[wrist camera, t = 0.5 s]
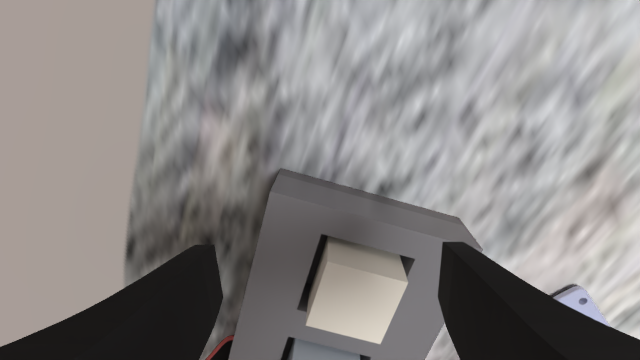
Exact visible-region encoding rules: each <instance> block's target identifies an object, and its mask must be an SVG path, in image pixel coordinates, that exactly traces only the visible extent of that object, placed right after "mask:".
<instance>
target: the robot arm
mask: <svg viewBox="0 0 640 360" xmlns="http://www.w3.org/2000/svg"><path fill="white" fill-rule="evenodd" d="M581 298H582V299H581ZM222 299H223V293H222V287H221V281H220V276H219V270H218V264H217V258H216V252H215V246H214V245H195V246H193V247H191V248H189V249H187V250H185V251H184V252H182V253H180V254H179V255H177V256H176V257H174V258H172V259H171V260H169V261H168V262H166V263H165V264H163V265H161V266H160V267H158V268H157V269H155V270H153V271H152V272H150V273H149V274H147V275H146V276H144V277H142V278H141V279H139V280H137V281H136V282H134V283H132V284H131V285H129V286H127V287H125V288H124V289H122V290H120V291H119V292H117V293H115V294H114V295H112V296H110V297H109V298H107V299H105V300H103V301H101V302H99V303H97V304H95V305H94V306H92V307H90V308H88V309H86V310H84V311H82V312H80V313H78V314H76V315H73V316H72V317H69V318H67V319H65V320H63V321H61V322H59V323H56V324H54V325H52V326H49V327H47V328H45V329H43V330H40V331H38V332H36V333H33V334H31V335H28V336H26V337H24V338H22V339H19V340H17V341H14V342H12V343H9V344H7V345H4V346H2V347H0V360H199V358H200V356H201V354H202V352H203V350H204V347H205V345H206V343H207V341H208V339H209V337H210V334H211V332H212V330H213V328H214V325H215V322H216V319H217V316H218V313H219V310H220V306H221V303H222ZM580 299H581V300H580ZM438 300H439V304H440V307H441V311H442V314H443V318H444V321H445V324H446V327H447V330H448V332H449V335H450V337H451V339H452V342H453V344H454V346H455V349H456V351H457V353H458V355H459V358H460V360H640V340H639V339H637V338H634V337H632V336H630V335H627V334H625V333H623V332H620V331H618V330H616V329H614V328H612V327H610V325H609V324H608V322H607V321H606V319H605V318H604V316H603V315H602V313H601V312H600V310H599V309H598V307H597V306H596V305H595V303H594V302H593V300H592V299H591V297H590V296H589V294H588V293H587V291H586V290H585V289H584V288H582V287H581V286H574V287H572V288H570V289H568V290H566V291H564V292H562V293H560V294H558V295H556V296H555V297H553V298H552V297H550V296H549V295H547V294H545V293H544V292H542V291H540V290H538V289H537V288H535V287H533V286H532V285H530V284H528V283H527V282H525V281H523V280H522V279H520V278H519V277H517V276H515V275H514V274H512V273H511V272H509V271H508V270H506V269H505V268H503V267H502V266H500V265H499V264H497V263H496V262H494V261H493V260H491V259H490V258H488V257H487V256H485V255H484V254H482V253H481V252H479V251H478V250H476V249H474V248H473V247H471V246H470V245H468V244H466V243H465V242H443V243H442V254H441V265H440V276H439V286H438Z"/></svg>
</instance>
